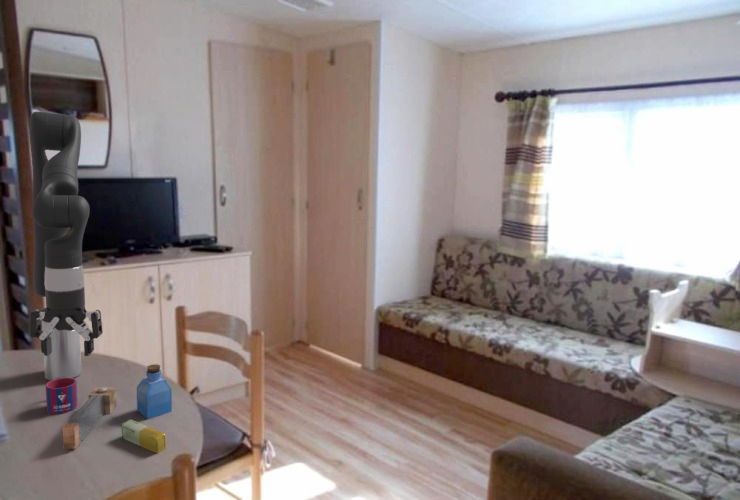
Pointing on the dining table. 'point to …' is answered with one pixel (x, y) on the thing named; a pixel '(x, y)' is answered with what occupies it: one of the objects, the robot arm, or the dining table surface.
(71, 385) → the mug
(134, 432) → the medication box
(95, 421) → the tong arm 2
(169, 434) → the dining table surface
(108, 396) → the block
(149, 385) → the perfume bottle
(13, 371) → the dining table surface
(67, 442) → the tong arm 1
